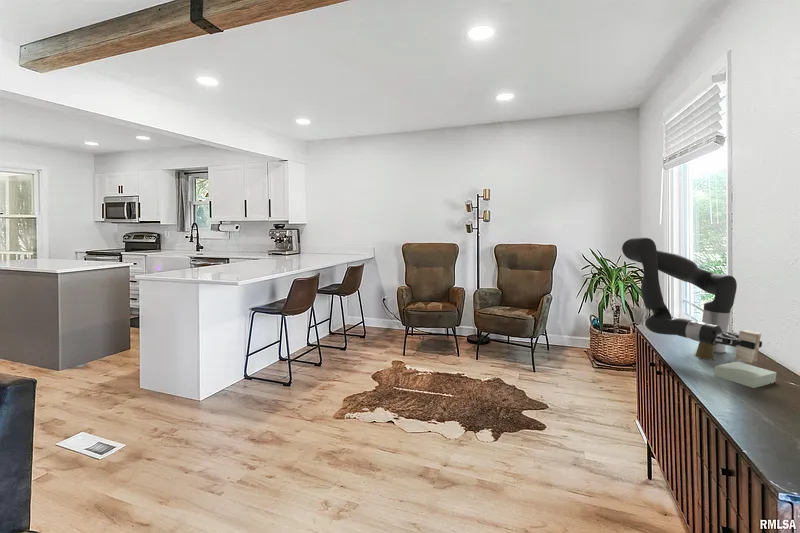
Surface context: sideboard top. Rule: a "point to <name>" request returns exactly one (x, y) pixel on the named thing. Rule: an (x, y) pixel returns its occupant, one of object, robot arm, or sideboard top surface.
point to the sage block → (745, 374)
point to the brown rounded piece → (705, 351)
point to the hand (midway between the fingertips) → (758, 345)
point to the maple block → (748, 353)
